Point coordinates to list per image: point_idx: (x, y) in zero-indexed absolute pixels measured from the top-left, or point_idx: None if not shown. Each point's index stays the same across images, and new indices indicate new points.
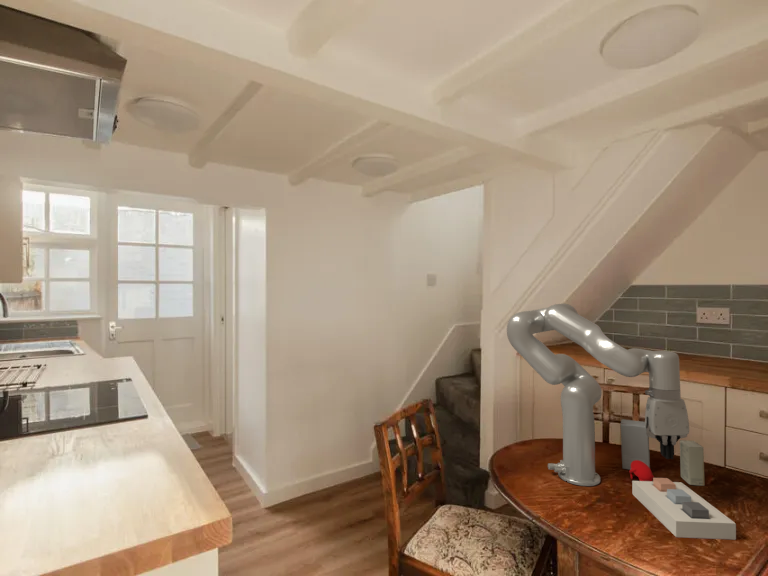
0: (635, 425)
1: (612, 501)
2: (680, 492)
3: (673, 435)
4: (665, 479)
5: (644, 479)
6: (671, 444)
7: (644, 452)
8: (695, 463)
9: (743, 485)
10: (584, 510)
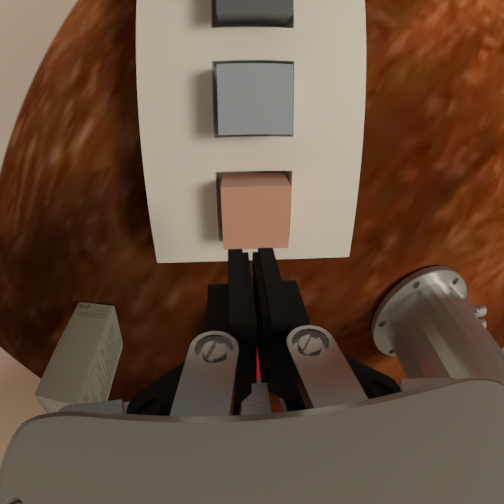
0: None
1: (421, 181)
2: (244, 102)
3: (246, 415)
4: (241, 234)
5: None
6: (230, 345)
7: None
8: (76, 352)
9: (6, 306)
10: (501, 136)
